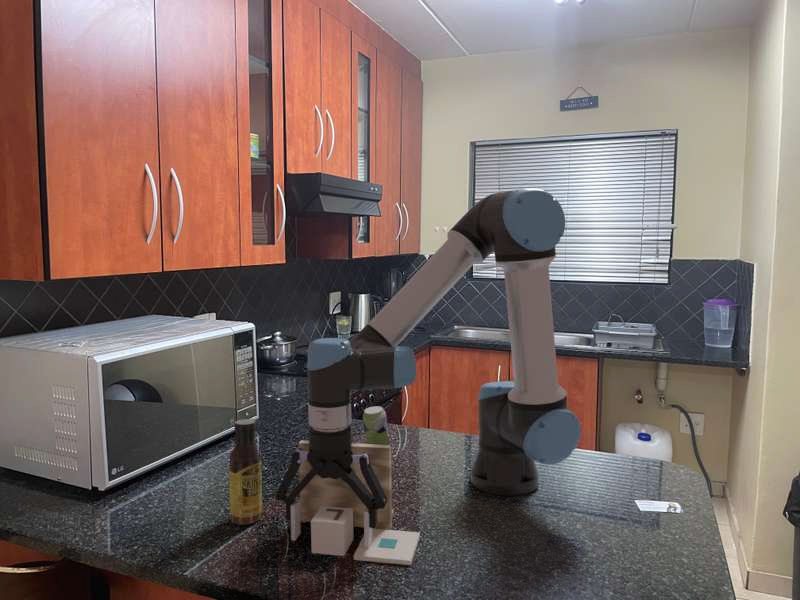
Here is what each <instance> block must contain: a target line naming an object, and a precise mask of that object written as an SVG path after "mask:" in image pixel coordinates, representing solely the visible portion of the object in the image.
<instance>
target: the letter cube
mask: <svg viewBox="0 0 800 600" xmlns="http://www.w3.org/2000/svg"><path fill="white" fill-rule="evenodd" d="M310 535H311V536H310V539H311V544H310V545H311V554H317V553H318V554H320V555H328V554H329V556H330V555H331V556H340V557H345V555H346V554H347V552H348V550H349V548H350V546H351V544H352V542H353V541H354V527H353V509H352V508H339V507H327V506H321V508H320V509H319V510H318V512H317V513H316V515H315V516H314V517H313V519H312V520H311V523H310ZM318 554H317V555H318Z"/></svg>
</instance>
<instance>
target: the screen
mask: <svg viewBox="0 0 800 600" xmlns="http://www.w3.org/2000/svg"><path fill="white" fill-rule="evenodd" d="M298 448H301V449H302V450H303V451H306V452H309V440H303V439H302V440H300V441H299V442H298ZM351 450H352V453H353V455H361V454H363V453H364V452H367V453H368V454H369V457H370V465H371V467H372V469H373V471H374V473H375V475H376V477H377V479H378V481H379V483H380V485H381V487H382V489H383V491H384V493H385V495H386V497H387V499H388V501H387V503H386V505H385V507H384V508H383V509H377V524H376V526H375V528H374V529H384V530H392V526H393V518H394V516H395V508H393V506H392V505H393V502H392V501H393V500H392V496H393V495H392V494H393V493H392V445H391V444H390V445H374V444H366V443H353V442H351ZM350 466H351V467H352V468H353V470H354V471H355V474H356V475H357V477H358V478H359V479H360V480H361V481H362V483H363V484H364V485H365V486H366V488H367V489H368V490H369V491H370V489H369V487H368V485H367V483H366V481H365V479H364V477H363V474H362V472H361V469H360V468H359V467H358V466H357V464H356V463H355V462H353V463H352V464H351V465H350ZM311 469H312V466H311V465H310V463H309V462H308V460H307V459H305V461H304V462H303V463H301V464H300V466H299V468H298V471H299V472H298V473H299V476H298V477H299V483H300V482H301V481H302V480H303V479H304V477H305V476H306V475H307V474H308V473H309V472H310V471H311ZM370 493H371V491H370ZM371 494H372V493H371ZM299 500H300V522H301V521H302V522H301V523H306V522H310V523H309V524H311V520H312V519H313V517H314V516H315V515H316V513H317V512H318V510H319V509H320V508H321V506H327V507H339V508H352V509H353V528H354V527H356V528H357V527H358V528H364V511H365V510H366V508H367V507H366V506H365V505H364V504H363V502H362V501H361V500H360V499H359V497H358V496H357V495H356V494H355V492H354V491H353V490H352V489H351V488H350V486H349V485H348V484H347V483H345V482H344V481H343V480H342V479H341V477H340V478H338V479H332V478H321V477H320V476H318V475H317V474H316V475H315V476H314V477H313V479H312V480H311V481H310V482H309V483H308V484H307V485H306V486H305V488H304V489H303V490H302V491H301V492H300V493H299Z"/></svg>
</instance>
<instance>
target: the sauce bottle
mask: <svg viewBox="0 0 800 600" xmlns="http://www.w3.org/2000/svg"><path fill="white" fill-rule="evenodd" d="M256 423H257V422H256V421H255V419H251V418H245V419H238V420H235V421H234V425H233V426H234V431H235V441H234V442H235V446H234V447H233V449H232V451H231V453H230V456H229V468H228V469H229V470H228V473H229V474H228V475H229V477H228V479H229V482H228V483H229V487H228V488H229V489H228V490H229V514H230V515H229V517H230V518H229V519H230V522H231V523H232V524H235V525H236V526H237V525H238V526H249V525H252V524H255V523H257V522H258V521H259V520H260V519H261V517H262V513H263V512H262V510H263V479H262V478H263V475H262V474H263V472H262V471H263V468H262V467H263V464H262V463H263V462H262V458H261V456H260V453H259V450H258V447H257V444H256V428H257V425H256Z"/></svg>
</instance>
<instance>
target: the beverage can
mask: <svg viewBox="0 0 800 600" xmlns="http://www.w3.org/2000/svg"><path fill="white" fill-rule="evenodd" d="M363 411H364V412H363V413H362V421H363V428H364V435H365V436H364V437H365V442H366V443H365V444H374V445H391V442H390V435H389V434H390V433H389V429H388V419H387V412H386V410H384V407H382V406H380V405H376V406H375V405H372V406H369V407H367V408H365V409H364V410H363Z"/></svg>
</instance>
